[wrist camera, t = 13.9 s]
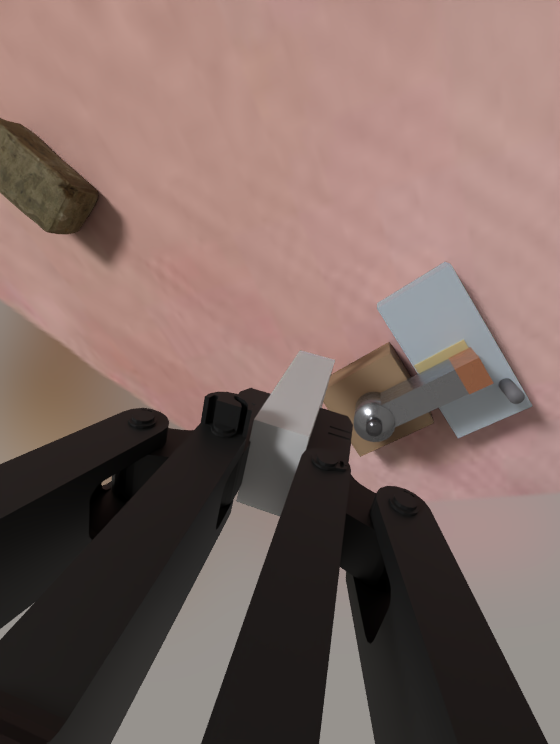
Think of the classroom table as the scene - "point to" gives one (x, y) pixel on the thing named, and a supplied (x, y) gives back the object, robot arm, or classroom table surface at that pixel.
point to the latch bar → (419, 395)
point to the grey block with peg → (452, 345)
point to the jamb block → (365, 377)
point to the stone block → (42, 182)
